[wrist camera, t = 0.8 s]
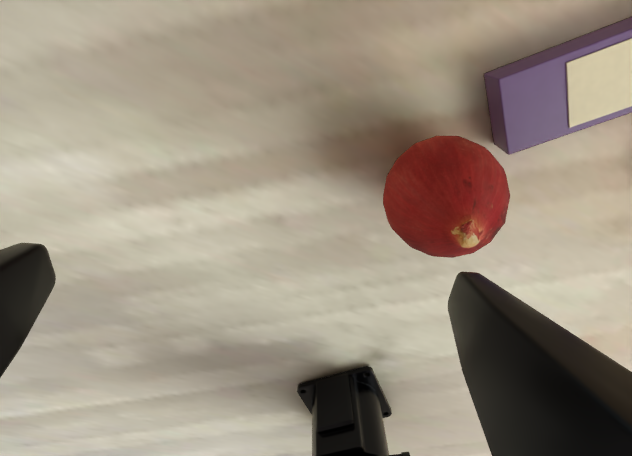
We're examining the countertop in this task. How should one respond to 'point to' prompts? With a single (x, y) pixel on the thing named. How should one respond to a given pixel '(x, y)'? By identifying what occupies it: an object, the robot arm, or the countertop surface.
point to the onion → (446, 196)
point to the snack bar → (562, 88)
